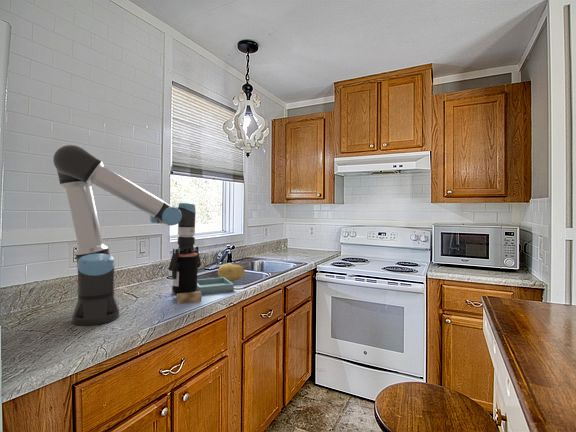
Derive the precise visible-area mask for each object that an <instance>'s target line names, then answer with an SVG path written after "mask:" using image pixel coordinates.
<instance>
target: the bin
mask: <svg viewBox="0 0 576 432" xmlns="http://www.w3.org/2000/svg"><path fill="white" fill-rule="evenodd" d="M234 289H235V283H233V281H229V280H227V279H226V278H225V277H221V278H220V277H213V278H212V277H211V278H202V279H200V278H199V279H198V278H197V290H196V291H195V292H198V291H201V295H208V294H209V295H210V294H219V293H228V292H227V291H229V292H234V291H233V290H234Z"/></svg>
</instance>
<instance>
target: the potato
mask: <svg viewBox="0 0 576 432" xmlns="http://www.w3.org/2000/svg"><path fill="white" fill-rule="evenodd" d="M217 274H218V278H221V277H225V278H226V279H227V280H229V281H230V282H234V281H237V280H240V279H242V277H243V276H244V275H245V268H244V267H243V266H242V265H239V264H232V263H226V264H221V265H220V266H219V267H218V269H217Z"/></svg>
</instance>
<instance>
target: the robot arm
mask: <svg viewBox="0 0 576 432" xmlns="http://www.w3.org/2000/svg"><path fill="white" fill-rule="evenodd" d="M52 158H53V159H52V160H53V161H52V162H53V164H54V167H55V168H56V172H57V178H58V182H59V185H60V186H61V187H63V189H65V192H66V195H67V196H66V197H67V200H68V205H69V209H70V214H71V219H72V224H73V228H74V232H75V237H76V242H77V246H78V248H77V251H76V252H75V260H76V263H77V266H76V269H77V302H76V305H75V307H74V310H73V313H72V315H71V323H72V324H74V325H76V326H84V327H85V326H96V325H102V324H106V323H110V322H113V321H114V320H116V319H119V317H120V308H119V306H118V302H117V300H116V297H115V267H116V263H115V258H114V256H113V255H111V253H110V249H109V246H107V245H106V244H104V241H103V236H102V232H101V227H100V222H99V217H98V211H97V207H96V203H95V198H94V192H93V187H92V185H95V186H97V187H98V188H100V189H102V190H104V191H105V192H108V193H109V194H111V195H113V196H115V197H116V198H118V199H120V200H122V201H124V202H126V203H127V204H129V205H131V206H132V207H135V208H136V209H138V210H140V211H142V212H143V213H146V214H147V215H149V221H150V222H151V223H152V224H164V225H167V226H175V225H177V224H178V225H177V226H178V227H177V235H178V237H177V245H178V248H172V255H171V258H170V263H169V266H168V271H170V272H171V273H172V276H171V278H172V285H173V286H179V272H178V269H179V263H177V259H178V255H179V254H188V253H193V252H196V253H198V255H197V259H198V264H197V274H198V268H200V267H201V266H202V262H201V258H200V252H199V246H196V245H195V243H196V242H195V241H196V237H195V235H196V213H197V212H196V211H197V210H196V204H195V203H192V202H179V203H178V206H172V205H171V204H169V203H167V202H165V201H164V200H162V199H161V198H159V197H157V196H156V195H154V194H152V193H151V192H149V191H147V190H145V189H144V188H142V187H140V185H139V186H138V185H137V184H135V183H134V182H132V181H130V180H128V178H127V179H126V178H125V177H124V176H121V175H120V174H118V173H116V172H115V171H114V170H112V169H109V168H108V167H106V166H105V165H104V163H103V161H102V160H100V159H98V158H97V157H95V156H94V155H92V154H90V153H89V151H86V149H84V148H82V147H80V146H78V145H72V144H66V145H62V146H61V147H59V148H58V149H56V150H55V153H54V155H53V157H52ZM175 268H176V269H175Z"/></svg>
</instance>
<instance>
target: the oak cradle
mask: <svg viewBox="0 0 576 432" xmlns="http://www.w3.org/2000/svg"><path fill="white" fill-rule="evenodd" d="M171 294H172V295H177V298H176V299H177V300H176V301H177V305H180V304H188V303H190V304H191V303H197V302H202V294H201V291H198V292H197V291H195V292H188V293H178V294H175V293H174V291H173V284H172V285H171Z"/></svg>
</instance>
